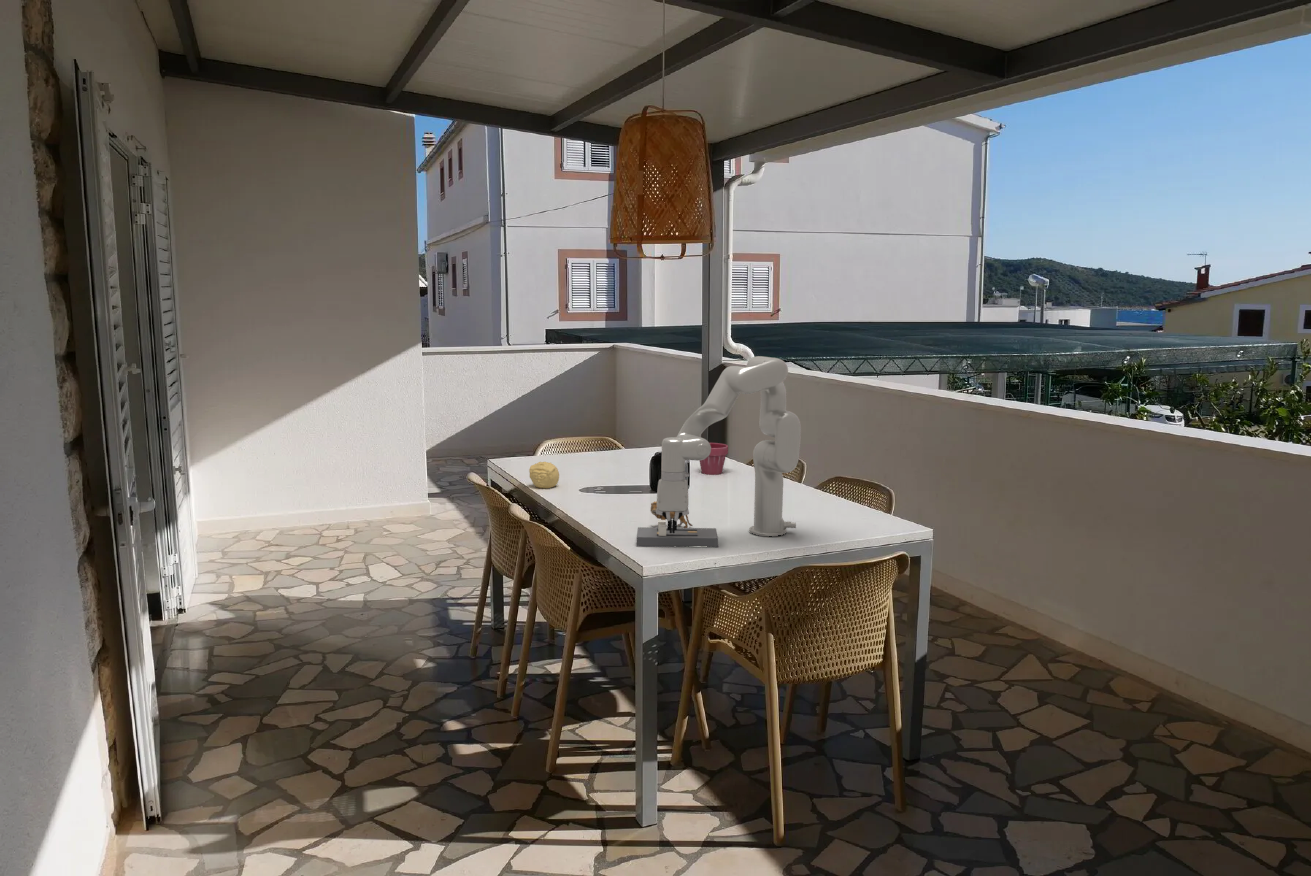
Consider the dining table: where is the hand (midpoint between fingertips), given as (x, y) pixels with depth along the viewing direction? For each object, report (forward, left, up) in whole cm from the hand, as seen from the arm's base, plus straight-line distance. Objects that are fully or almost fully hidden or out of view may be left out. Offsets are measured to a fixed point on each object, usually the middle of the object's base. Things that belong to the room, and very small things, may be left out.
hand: (672, 532), depth 305 cm
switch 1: (+3, -7, -2) cm, 8 cm away
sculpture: (+52, -89, -4) cm, 103 cm away
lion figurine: (+1, -23, -4) cm, 24 cm away
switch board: (-2, -4, -4) cm, 6 cm away
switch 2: (+3, 0, -2) cm, 4 cm away
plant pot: (-19, -124, -4) cm, 126 cm away
